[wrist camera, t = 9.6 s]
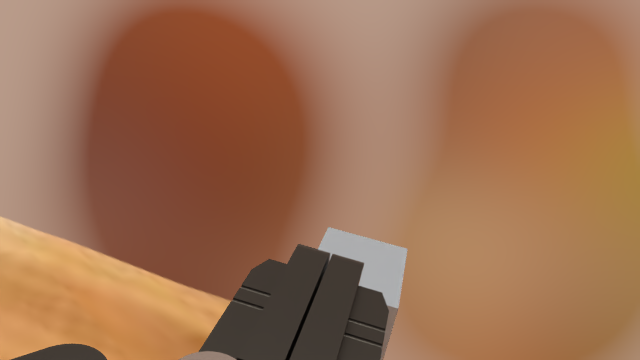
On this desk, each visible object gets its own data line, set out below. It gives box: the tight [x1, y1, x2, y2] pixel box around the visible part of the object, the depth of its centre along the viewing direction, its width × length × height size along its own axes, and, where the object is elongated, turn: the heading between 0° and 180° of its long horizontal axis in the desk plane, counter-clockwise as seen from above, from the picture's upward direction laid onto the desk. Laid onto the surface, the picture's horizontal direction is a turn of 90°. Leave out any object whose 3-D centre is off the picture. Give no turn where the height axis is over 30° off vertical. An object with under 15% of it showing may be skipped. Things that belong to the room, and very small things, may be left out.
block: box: [318, 227, 407, 360], centre depth 31 cm, size 5×6×13 cm
